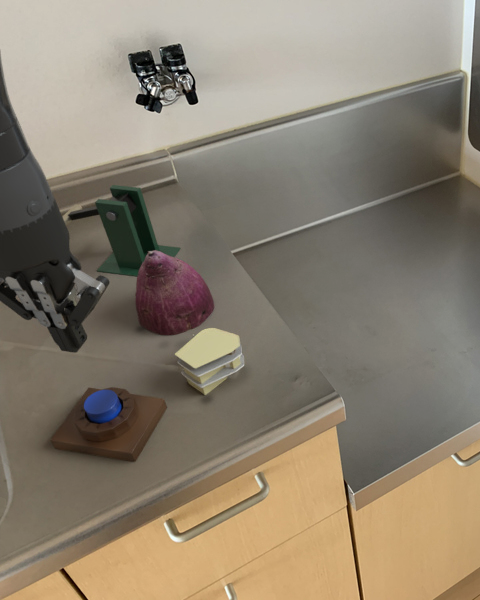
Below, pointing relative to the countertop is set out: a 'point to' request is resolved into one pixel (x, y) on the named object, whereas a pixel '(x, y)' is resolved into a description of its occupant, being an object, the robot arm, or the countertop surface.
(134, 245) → the switch bracket
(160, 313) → the vegetable
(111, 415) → the button
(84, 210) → the lever
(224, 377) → the yellow layered block
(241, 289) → the countertop surface
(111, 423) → the switch box
